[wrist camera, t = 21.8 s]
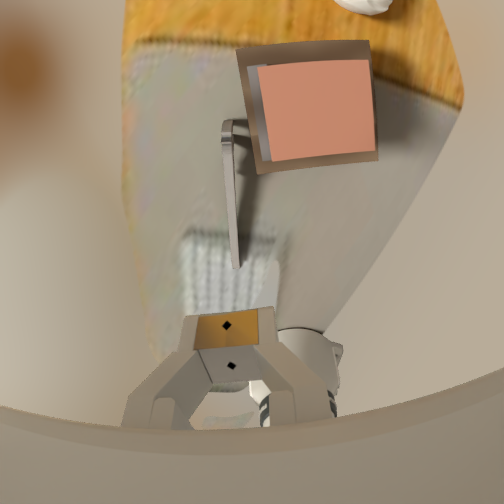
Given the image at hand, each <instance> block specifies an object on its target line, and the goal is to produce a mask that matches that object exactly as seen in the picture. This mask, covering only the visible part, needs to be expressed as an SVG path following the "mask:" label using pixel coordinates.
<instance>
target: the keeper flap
mask: <svg viewBox="0 0 504 504" xmlns="http://www.w3.org/2000/svg"><path fill="white" fill-rule="evenodd" d="M257 70H258V76H259V82H260V88H261V94H262V100H263V106H264V113H265V119H266V126H267V132H268V139H269V145H270V152H271V159H272V162H274V161H281V160H289V159H297V158H305V157H313V156H322V155H331V154H341V153H352V152H364V151H375V135H374V116H373V102H372V90H371V79H370V70H369V61H368V60H330V61H312V62H299V63H288V64H279V65H270V66H262V67H257Z"/></svg>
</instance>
